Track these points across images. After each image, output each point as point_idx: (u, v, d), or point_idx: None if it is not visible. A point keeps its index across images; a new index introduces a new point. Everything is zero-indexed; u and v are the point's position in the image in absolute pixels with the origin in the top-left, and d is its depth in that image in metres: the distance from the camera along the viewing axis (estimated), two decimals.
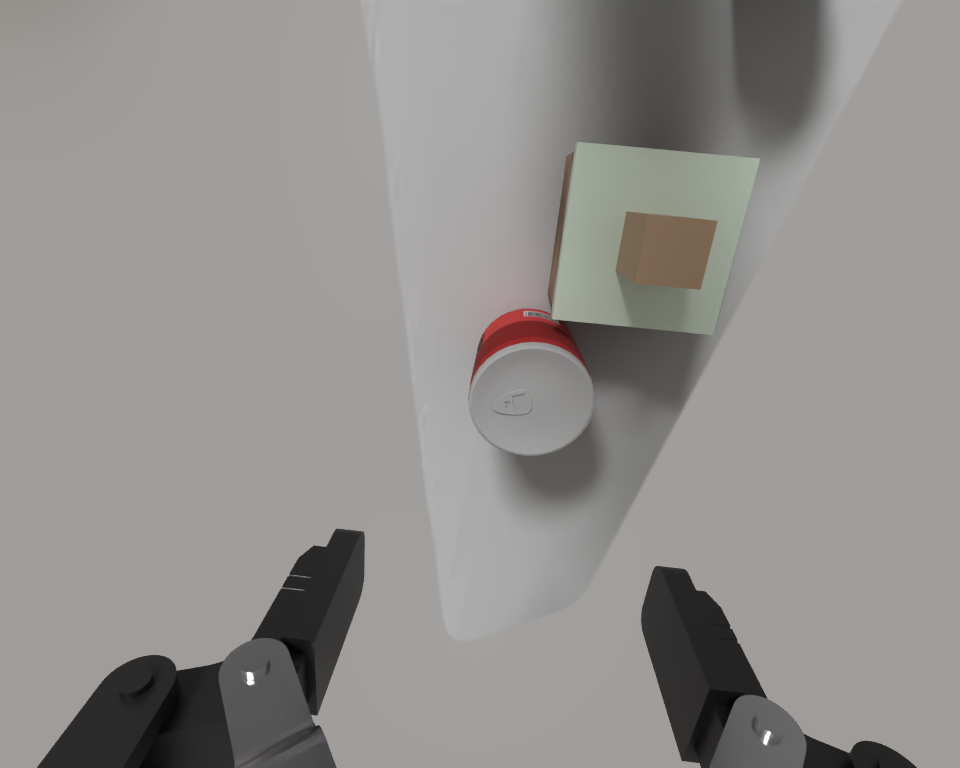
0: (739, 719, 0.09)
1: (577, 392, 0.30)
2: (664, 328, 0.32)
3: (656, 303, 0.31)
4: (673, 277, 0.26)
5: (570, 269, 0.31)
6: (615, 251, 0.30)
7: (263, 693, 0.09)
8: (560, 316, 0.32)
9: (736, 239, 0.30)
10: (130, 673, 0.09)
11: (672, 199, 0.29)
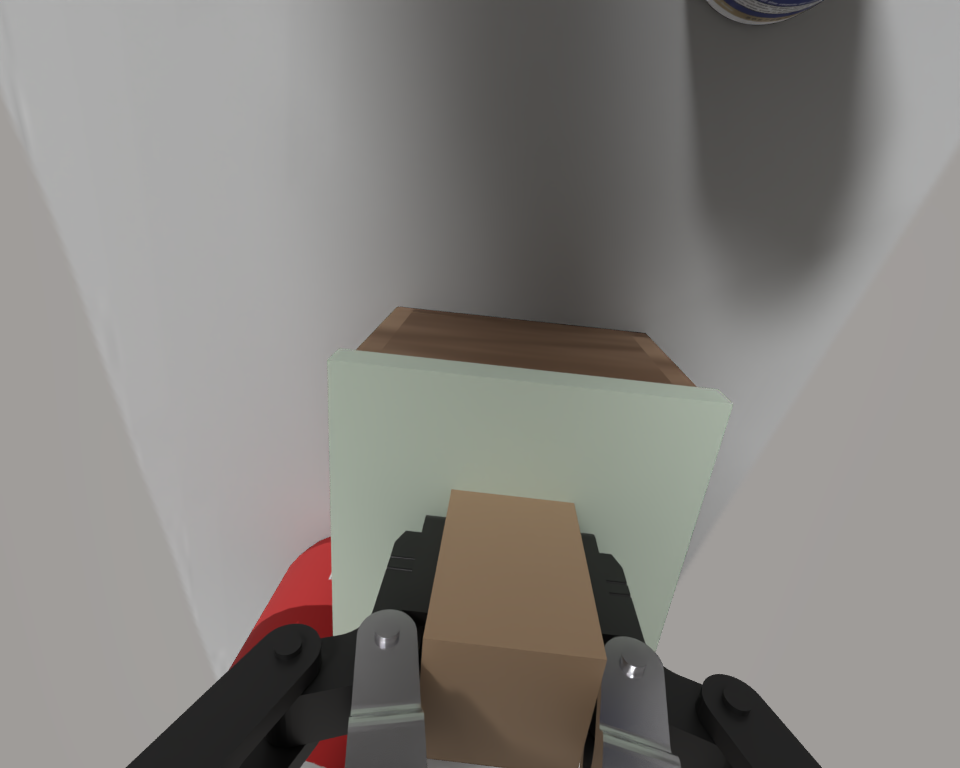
0: (607, 655, 0.10)
1: None
2: None
3: None
4: (506, 751, 0.10)
5: (354, 579, 0.15)
6: None
7: (388, 660, 0.09)
8: None
9: (684, 544, 0.14)
10: (285, 636, 0.10)
11: (545, 472, 0.14)
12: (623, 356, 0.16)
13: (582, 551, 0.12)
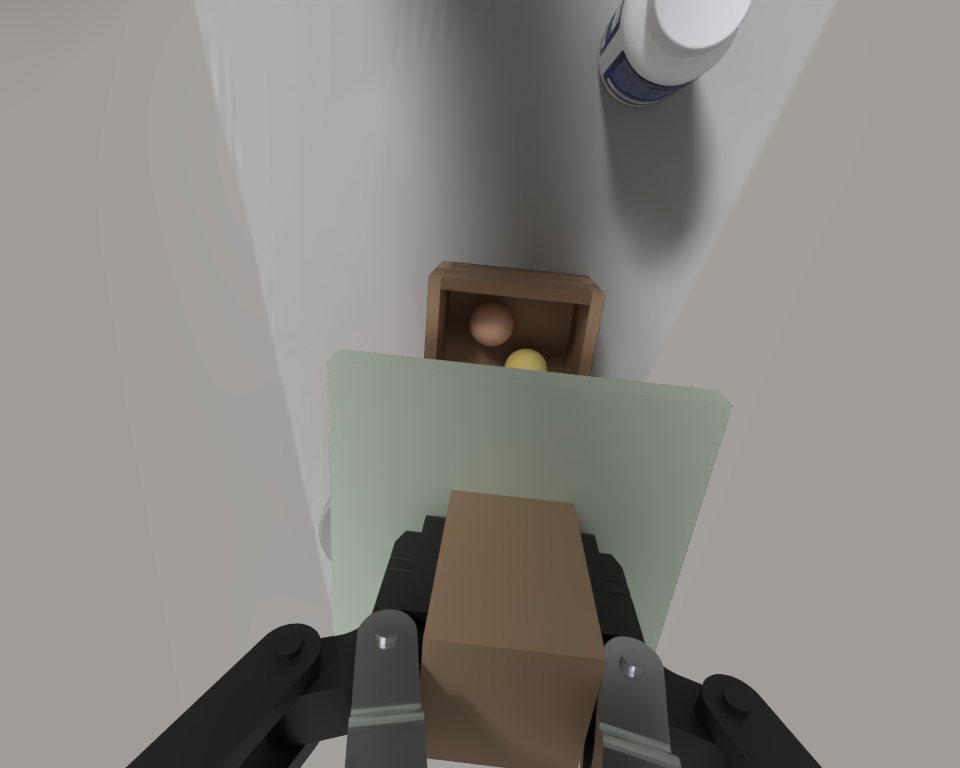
0: (607, 655, 0.10)
1: None
2: None
3: None
4: (506, 751, 0.10)
5: (354, 579, 0.15)
6: None
7: (387, 660, 0.09)
8: None
9: (684, 544, 0.14)
10: (286, 636, 0.10)
11: (545, 472, 0.14)
12: (570, 282, 0.30)
13: (582, 551, 0.12)
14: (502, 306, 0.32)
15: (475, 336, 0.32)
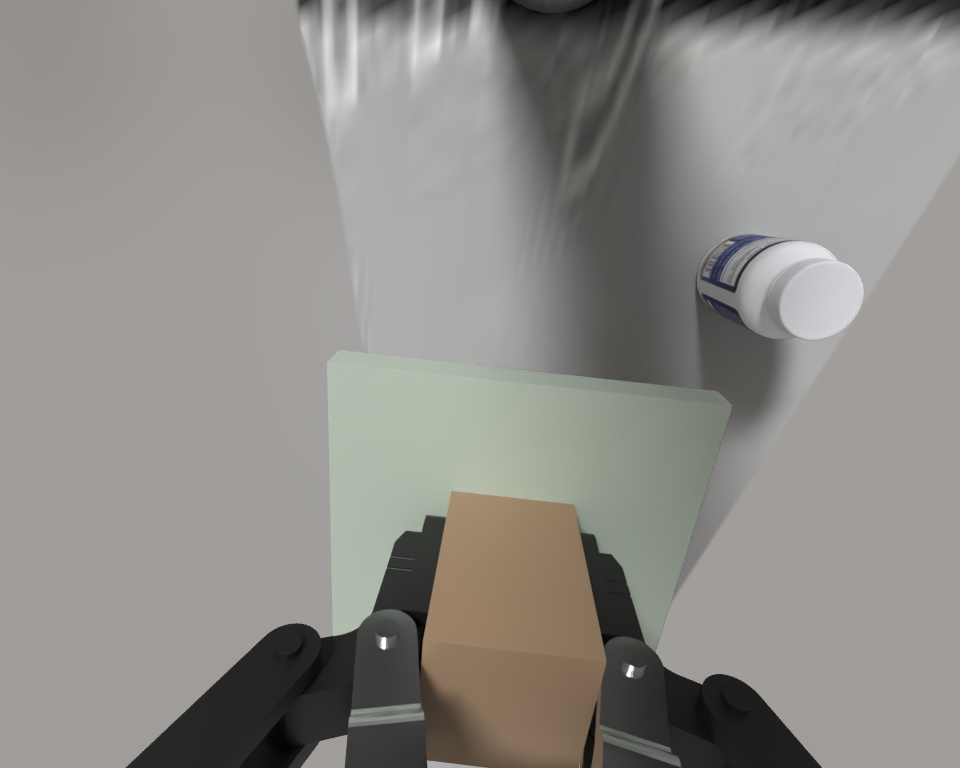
0: (607, 655, 0.10)
1: None
2: None
3: None
4: (506, 753, 0.10)
5: (353, 580, 0.15)
6: None
7: (388, 660, 0.09)
8: None
9: (684, 546, 0.14)
10: (286, 636, 0.10)
11: (545, 473, 0.14)
12: None
13: (582, 553, 0.12)
14: None
15: None
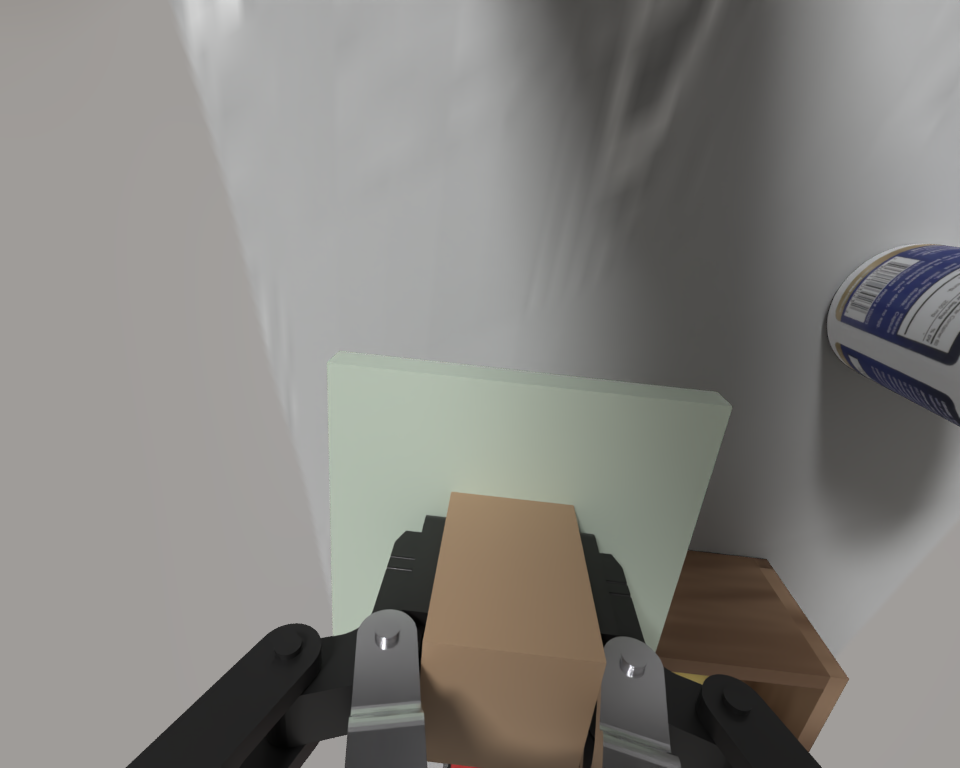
0: (607, 655, 0.10)
1: None
2: None
3: None
4: (506, 754, 0.10)
5: (353, 581, 0.15)
6: None
7: (387, 660, 0.09)
8: None
9: (683, 546, 0.14)
10: (286, 636, 0.10)
11: (545, 474, 0.14)
12: (768, 611, 0.22)
13: (582, 554, 0.12)
14: None
15: None
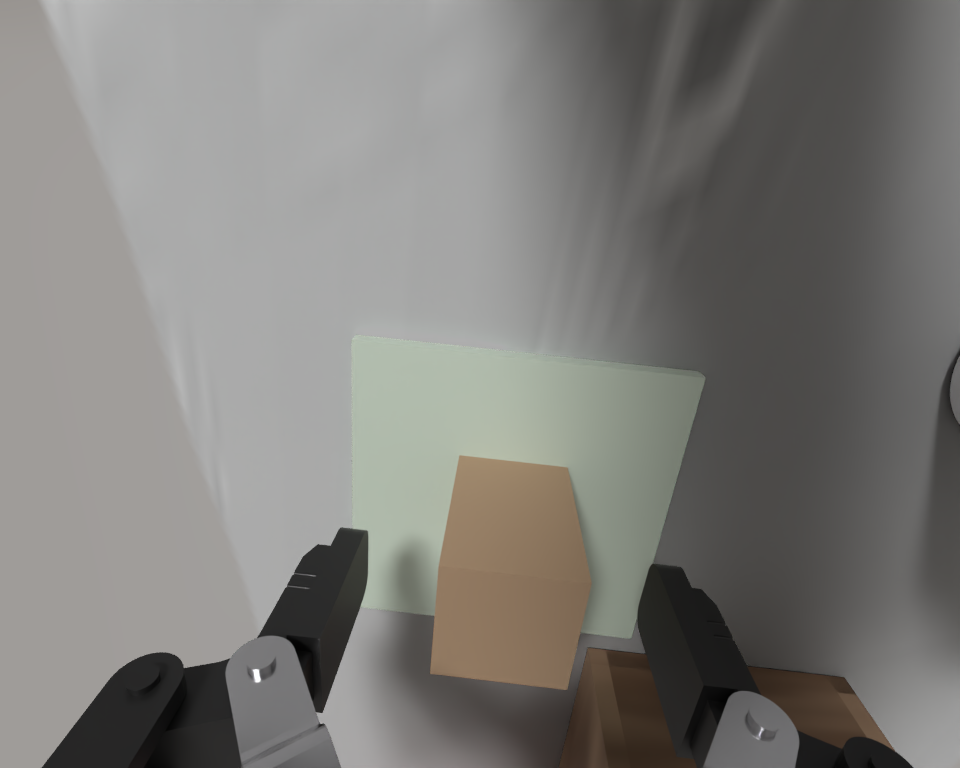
0: (733, 715, 0.09)
1: None
2: None
3: None
4: (508, 667, 0.12)
5: (372, 538, 0.17)
6: (448, 514, 0.17)
7: (270, 690, 0.09)
8: (366, 603, 0.18)
9: (665, 504, 0.16)
10: (137, 670, 0.09)
11: (542, 439, 0.15)
12: None
13: (573, 504, 0.14)
14: None
15: None
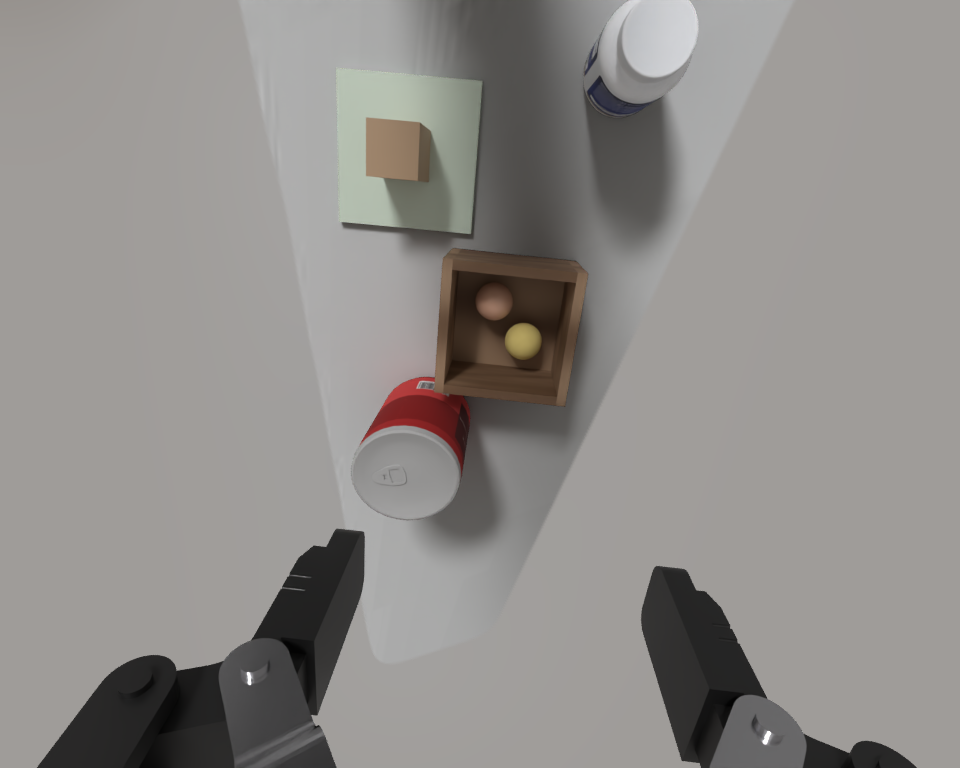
0: (739, 719, 0.09)
1: (444, 467, 0.35)
2: (430, 228, 0.39)
3: (420, 206, 0.38)
4: (394, 170, 0.33)
5: (347, 177, 0.38)
6: None
7: (264, 693, 0.09)
8: (345, 219, 0.39)
9: (475, 150, 0.37)
10: (130, 673, 0.09)
11: (418, 116, 0.36)
12: (560, 265, 0.36)
13: (426, 127, 0.34)
14: (503, 286, 0.38)
15: (480, 311, 0.38)
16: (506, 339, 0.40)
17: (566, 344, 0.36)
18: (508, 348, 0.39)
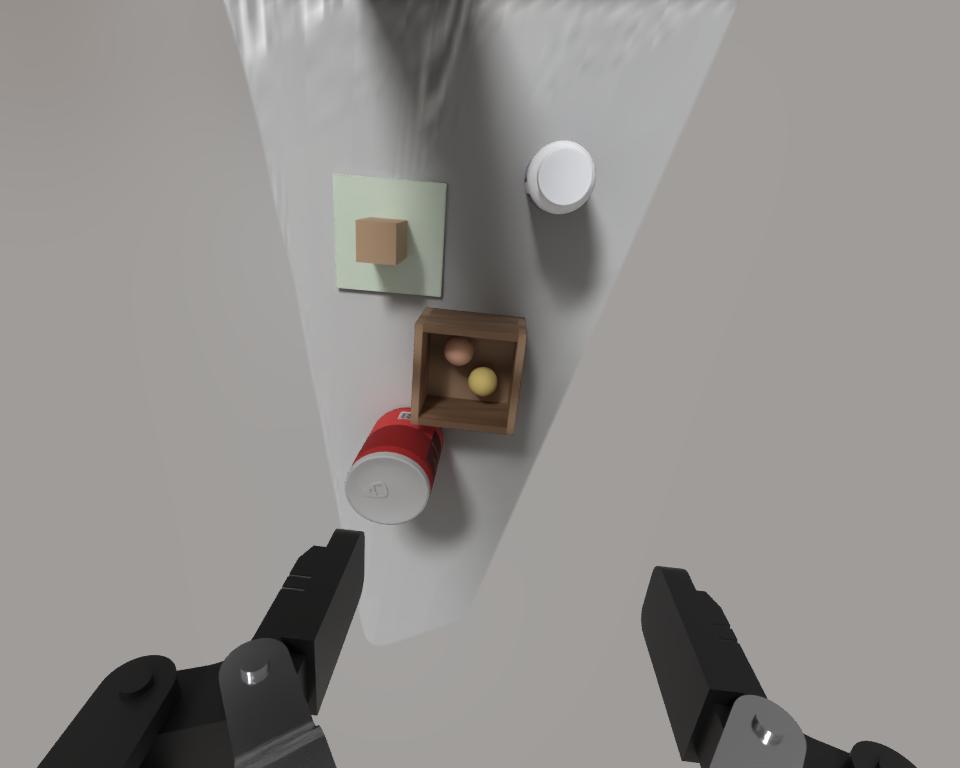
0: (739, 719, 0.09)
1: (417, 484, 0.45)
2: (408, 292, 0.49)
3: (400, 276, 0.48)
4: (378, 257, 0.43)
5: (342, 254, 0.48)
6: None
7: (264, 693, 0.09)
8: (341, 285, 0.49)
9: (442, 234, 0.47)
10: (129, 674, 0.09)
11: (397, 209, 0.46)
12: (508, 324, 0.46)
13: (402, 221, 0.44)
14: (465, 339, 0.48)
15: (447, 359, 0.48)
16: (468, 380, 0.50)
17: (512, 387, 0.46)
18: (470, 387, 0.50)
